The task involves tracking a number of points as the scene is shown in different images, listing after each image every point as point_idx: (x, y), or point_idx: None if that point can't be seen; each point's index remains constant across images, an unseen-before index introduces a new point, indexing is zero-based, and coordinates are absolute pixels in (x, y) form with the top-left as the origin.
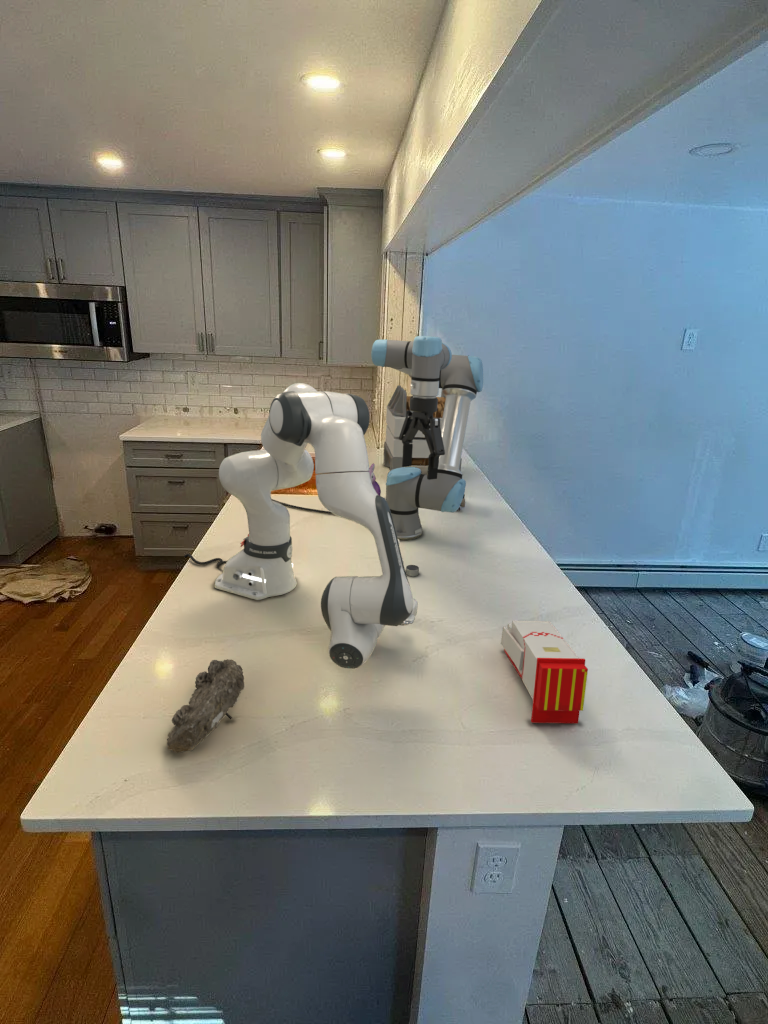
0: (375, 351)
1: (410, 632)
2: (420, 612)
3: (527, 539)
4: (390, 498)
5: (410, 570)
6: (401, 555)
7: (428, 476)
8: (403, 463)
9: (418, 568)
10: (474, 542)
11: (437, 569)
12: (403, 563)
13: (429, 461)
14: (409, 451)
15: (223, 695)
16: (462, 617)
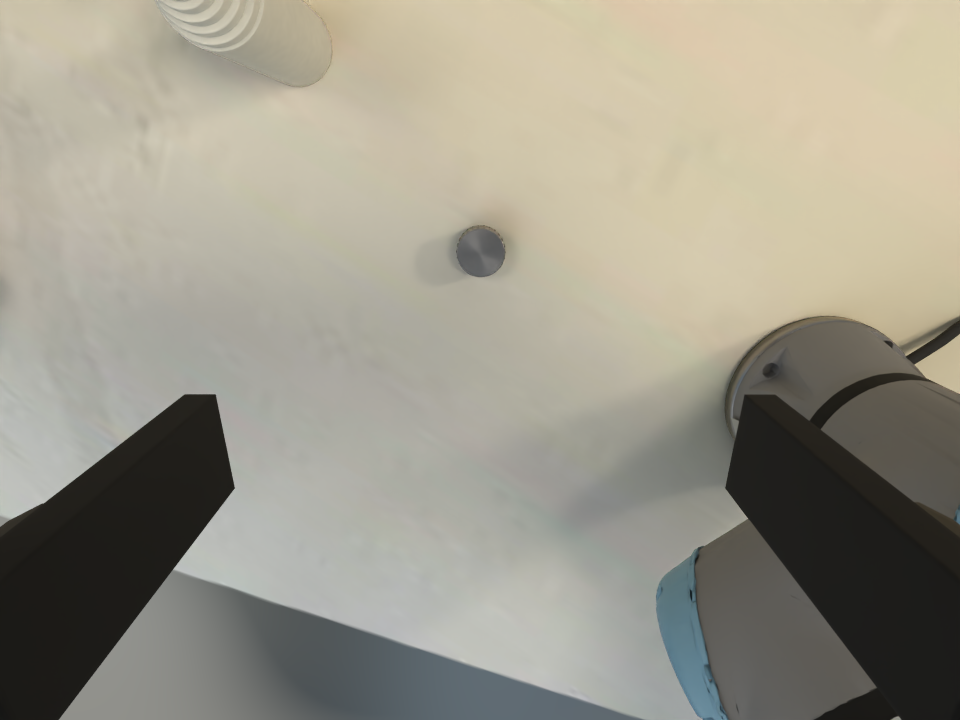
0: None
1: (88, 4)
2: (210, 119)
3: (542, 687)
4: (935, 406)
5: (464, 234)
6: (191, 30)
7: (175, 410)
8: (770, 414)
9: (464, 269)
10: (598, 559)
11: (474, 348)
12: (190, 41)
13: (21, 534)
14: (849, 593)
15: None
16: (149, 235)
